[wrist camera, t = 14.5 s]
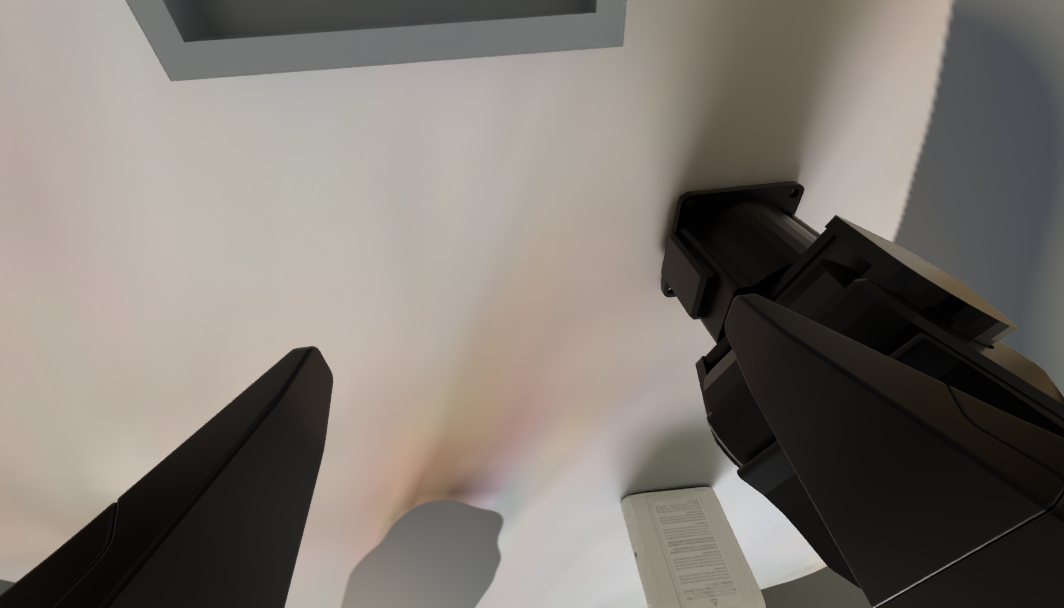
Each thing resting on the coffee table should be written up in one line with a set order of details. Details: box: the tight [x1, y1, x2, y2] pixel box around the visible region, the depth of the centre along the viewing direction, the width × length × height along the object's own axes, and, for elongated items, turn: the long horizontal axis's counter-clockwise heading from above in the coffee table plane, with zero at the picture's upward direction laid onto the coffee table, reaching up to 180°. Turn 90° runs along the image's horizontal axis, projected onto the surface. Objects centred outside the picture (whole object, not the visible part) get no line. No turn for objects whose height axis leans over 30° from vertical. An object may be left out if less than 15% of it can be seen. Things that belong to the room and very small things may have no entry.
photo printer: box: [621, 487, 766, 608], centre depth 38 cm, size 10×4×12 cm, turn 89°
